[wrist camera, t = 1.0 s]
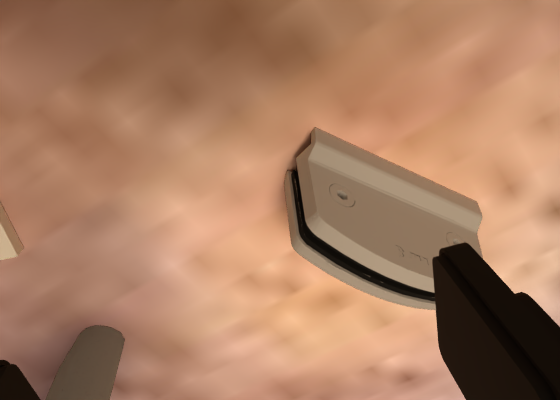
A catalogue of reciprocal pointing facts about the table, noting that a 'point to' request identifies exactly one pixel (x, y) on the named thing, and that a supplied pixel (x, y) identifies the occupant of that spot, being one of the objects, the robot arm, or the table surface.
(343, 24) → the table surface
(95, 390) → the grey upright block
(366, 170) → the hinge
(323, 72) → the table surface
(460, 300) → the robot arm
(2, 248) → the board
